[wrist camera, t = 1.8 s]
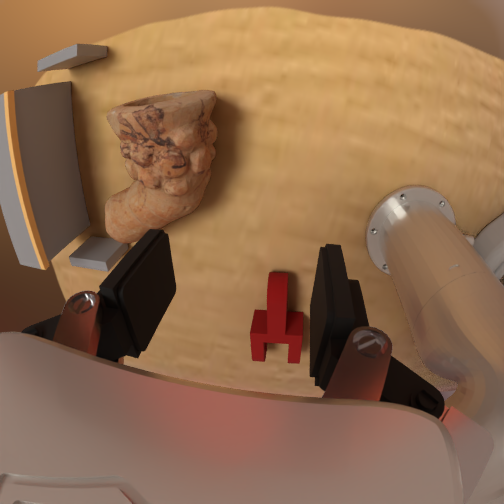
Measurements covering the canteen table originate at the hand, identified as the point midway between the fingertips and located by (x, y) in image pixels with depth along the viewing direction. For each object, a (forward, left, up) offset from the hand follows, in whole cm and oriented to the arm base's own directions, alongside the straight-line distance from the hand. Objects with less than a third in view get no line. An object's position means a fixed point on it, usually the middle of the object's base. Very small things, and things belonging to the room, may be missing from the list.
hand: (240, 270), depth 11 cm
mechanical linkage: (-2, +23, -23) cm, 32 cm away
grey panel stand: (+27, 0, -23) cm, 35 cm away
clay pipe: (+13, 0, -23) cm, 26 cm away
